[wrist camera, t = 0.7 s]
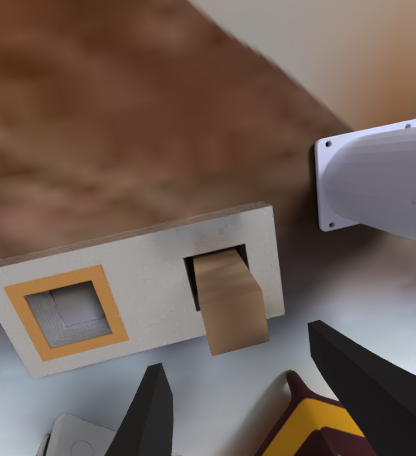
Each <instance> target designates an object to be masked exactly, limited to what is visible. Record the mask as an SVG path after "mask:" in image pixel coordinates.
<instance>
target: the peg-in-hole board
mask: <svg viewBox="0 0 416 456" xmlns="http://www.w3.org/2000/svg"><path fill="white" fill-rule="evenodd" d="M236 245H239V246H240V252H241V257H242V260H243V262H244V263H245V265H246V266H247V268H248V269H249V271H250V272H251V274H252V275H253V277H254V278H255V280H256V281H257V283H258V284H259V286H260V288H261V289H262V292H263V299H264V306H265V312H266V319H270V318H274V317H278V316H281V315H285V310H284V302H283V293H282V285H281V276H280V268H279V260H278V251H277V243H276V235H275V226H274V218H273V210H272V205H269V204H267V203H265V202H262V201H257V202H253V203H248V204H244V205H240V206H235V207H231V208H226V209H222V210H217V211H213V212H208V213H204V214H199V215H195V216H191V217H186V218H182V219H177V220H173V221H168V222H164V223H159V224H155V225H150V226H146V227H141V228H137V229H133V230H128V231H124V232H119V233H115V234H110V235H106V236H101V237H97V238H92V239H88V240H84V241H79V242H75V243H70V244H66V245H61V246H57V247H52V248H48V249H43V250H39V251H34V252H30V253H26V254H21V255H17V256H12V257H8V258H3V259H0V323H1V325H2V326H3V328H4V330H5V332H6V333H7V335H8V337H9V339H10V340H11V342H12V344H13V346H14V348H15V349H16V351H17V353H18V355H19V356H20V358H21V360H22V362H23V364H24V365H25V367H26V369H27V371H28V372H29V374H30V376H31V378H32V379H36V378H40V377H44V376H48V375H52V374H56V373H60V372H63V371H67V370H71V369H75V368H79V367H83V366H87V365H91V364H95V363H98V362H102V361H106V360H110V359H114V358H118V357H122V356H126V355H130V354H134V353H137V352H141V351H145V350H149V349H153V348H157V347H161V346H165V345H169V344H172V343H176V342H180V341H184V340H188V339H192V338H196V337H200V336H204V335H207V334H206V330H205V326H204V322H203V318H202V314H201V310H200V306H199V299H198V295H195V294H194V290H193V286H192V282H191V278H190V274H189V270H188V266H187V262H186V258H185V257H189V256H193V255H198V254H202V253H206V252H211V251H215V250H219V249H223V248H228V247H232V246H236ZM89 280H92V283H93V285H94V288H95V290H96V293H97V295H98V298H99V300H100V303H101V305H102V308H103V310H104V313H105V315H106V317H104V318H100V319H96V320H92V321H88V322H84V323H80V324H76V325H72V326H67V327H66V325H65V323H64V321H63V319H62V317H61V315H60V313H59V310H58V308H57V306H56V304H55V302H54V300H53V297H52V295H51V293H50V291H49V290H51V289H55V288H60V287H64V286H68V285H72V284H77V283H81V282H85V281H89Z"/></svg>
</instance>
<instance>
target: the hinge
mask: <svg viewBox="0 0 416 456" xmlns="http://www.w3.org/2000/svg"><path fill="white" fill-rule="evenodd" d="M116 433H117V432H115V431H112V430H109V429H107V428H104V427H101V426H98V425H96V424H93V423H90V422H87V421H85V420H82V419H79V418H77V417H74V416H71V415H68V414H66V413H63V414H61V415H60V416H59V417H58V418H57V419H56V420H55V421H54V425H53V429H52V433H51V434H50V435H49V436H48V435H45V437H44V439H43V441H42V443H41V446H40V448H39V450H38V452H37V455H36V456H104V455H105V453H106V452H107V450H108V448H109V446H110V444H111V443H112V441H113V439H114V437H115V435H116ZM171 456H180V455H178V454H175V453H171Z"/></svg>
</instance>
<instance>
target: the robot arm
mask: <svg viewBox="0 0 416 456" xmlns="http://www.w3.org/2000/svg"><path fill="white" fill-rule="evenodd" d="M405 126H406V129H405ZM326 142H328V143H329V144H328V147H326V145H325V144H326ZM315 164H316V181H317V198H318V215H319V228H320V229H321V230H322V231H331V230H335V229H339V228H343V227H348V226H352V225H356V224H360V223H361V224H364V225H368V226H371V227H374V228H377V229H380V230H383V231H386V232H389V233H393V234H396V235H399V236H402V237H405V238H408V239H411V240H414V241H416V119H414V120H409V121H404V122H399V123H395V124H390V125H385V126H381V127H376V128H371V129H366V130H361V131H357V132H352V133H347V134H343V135H338V136H333V137H328V138H324V139H319V140H317V141H316V143H315ZM330 223H332V225H331V226H330V227H329V224H330ZM308 331H309V342H310V352H311V357H312V359H313V361H314V363H315V364H316V366H317V368H318V370H319V371H320V373H321V375H322V376H323V378H324V380H325V381H326V383H327V384H328V385H329V387H330V388H331V390H332V391H333V392H334V394H335V395H336V397H337V398H338V399H339V401H340V402H341V404H342V405H343V406H344V408H345V409H346V411H347V412H348V413H349V415H350V416H351V418H352V419H353V420H354V422H355V423H356V425H357V426H358V427H359V429H360V430H361V432H362V433H363V435H364V436H365V438H366V439H367V441H368V442H369V444H370V445H371V447H372V448H373V450H374V451H375V453H376V455H377V456H416V375H414V374H412V373H410V372H408V371H406V370H404V369H402V368H400V367H398V366H396V365H394V364H392V363H390V362H389V361H387V360H385V359H383V358H381V357H379V356H378V355H376V354H374V353H372V352H371V351H369V350H367V349H366V348H364V347H362V346H361V345H359V344H357V343H356V342H354V341H352V340H351V339H349V338H348V337H346V336H344V335H343V334H341V333H340V332H338V331H336V330H335V329H333V328H332V327H330V326H329V325H327V324H325V323H324V322H322V321H321V320H317V321H314V322H310V323H308ZM172 437H173V396H172V392H171V389H170V386H169V383H168V380H167V377H166V375H165V372H164V369H163V366H162V363H159V364H155V365H151V366H148V368H147V370H146V372H145V374H144V377H143V379H142V381H141V384H140V386H139V388H138V390H137V392H136V395H135V397H134V399H133V401H132V403H131V405H130V407H129V409H128V411H127V414H126V416H125V418H124V420H123V422H122V424H121V426H120V427H119V429H118V431H117V433H116V435H115V437H114V439H113V441H112V443H111V444H110V446H109V448H108V450H107V452H106V453H105V455H104V456H171V453H172Z"/></svg>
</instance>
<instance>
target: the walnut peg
mask: <svg viewBox="0 0 416 456" xmlns="http://www.w3.org/2000/svg"><path fill="white" fill-rule="evenodd" d="M193 262H194V270H195V277H196V284H197V291H198V299H199V306H200V310H201V314H202V318H203V322H204V326H205V330H206V334H207V338H208V342H209V346H210V350H211V354H212V356H215V355H219V354H223V353H226V352H230V351H234V350H238V349H242V348H245V347H249V346H253V345H257V344H261V343H264V342H268V341H270V339H269V333H268V326H267V319H266V312H265V306H264V299H263V292H262V289H261V288H260V286H259V284H258V283H257V281H256V280H255V278H254V277H253V275H252V274H251V272H250V271H249V269H248V268H247V266H246V265H245V263H244V262H243V260H242V259H241V257H240V256H239V254H238V253H237V251H236V250H235V248H234V246H232V247H228V248H223V249H219V250H215V251H211V252H206V253H202V254H198V255H193Z"/></svg>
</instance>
